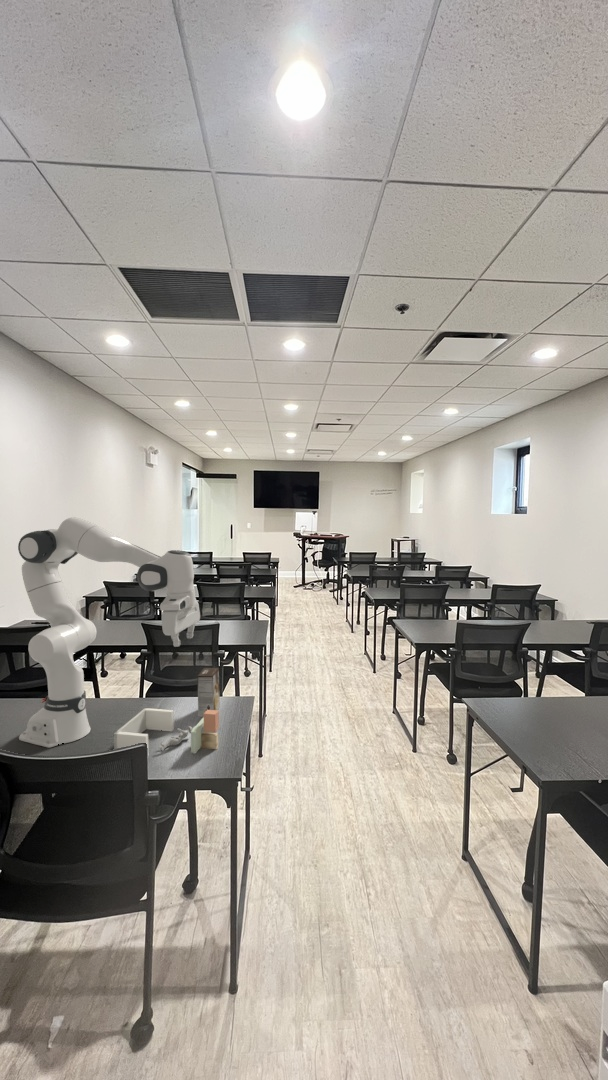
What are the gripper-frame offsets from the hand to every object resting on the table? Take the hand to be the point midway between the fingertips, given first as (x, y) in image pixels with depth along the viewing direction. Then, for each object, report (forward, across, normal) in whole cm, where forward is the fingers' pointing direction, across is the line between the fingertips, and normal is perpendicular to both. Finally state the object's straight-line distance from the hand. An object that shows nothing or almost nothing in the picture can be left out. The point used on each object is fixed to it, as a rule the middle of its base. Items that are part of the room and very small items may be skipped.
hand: (183, 641), depth 147 cm
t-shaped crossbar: (+34, 0, +6) cm, 35 cm away
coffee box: (+35, -25, -4) cm, 43 cm away
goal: (+34, 0, -16) cm, 38 cm away
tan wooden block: (+35, 0, +6) cm, 36 cm away
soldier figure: (+35, 0, -5) cm, 35 cm away
